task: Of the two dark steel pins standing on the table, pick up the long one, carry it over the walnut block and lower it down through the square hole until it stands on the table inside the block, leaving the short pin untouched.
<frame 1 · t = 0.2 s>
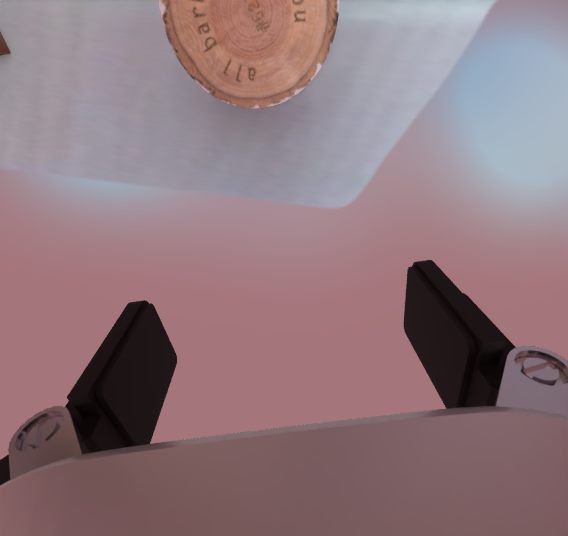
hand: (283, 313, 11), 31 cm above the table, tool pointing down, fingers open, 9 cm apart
brown bark cylinder: (263, 58, 33), on the table
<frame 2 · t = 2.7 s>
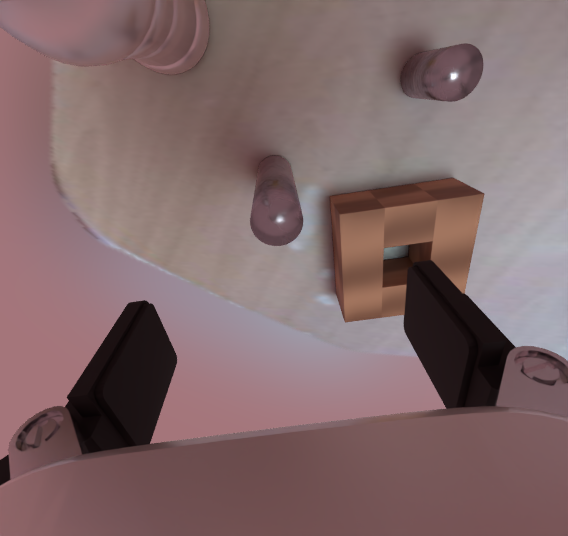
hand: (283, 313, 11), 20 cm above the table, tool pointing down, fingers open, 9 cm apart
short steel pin: (419, 75, 25), on the table
walnut block: (389, 241, 33), on the table
plastic bottle: (171, 24, 23), on the table
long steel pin: (274, 173, 29), on the table
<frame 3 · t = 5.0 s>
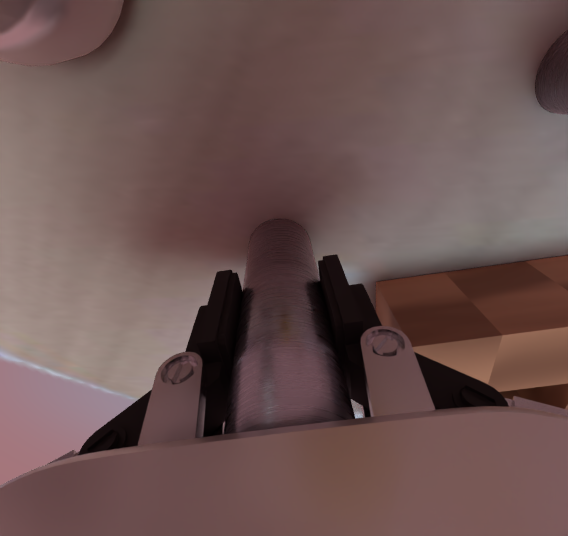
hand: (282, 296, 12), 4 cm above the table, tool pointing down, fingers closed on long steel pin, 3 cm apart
walnut block: (466, 344, 20), on the table
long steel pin: (279, 247, 16), on the table, touching gripper
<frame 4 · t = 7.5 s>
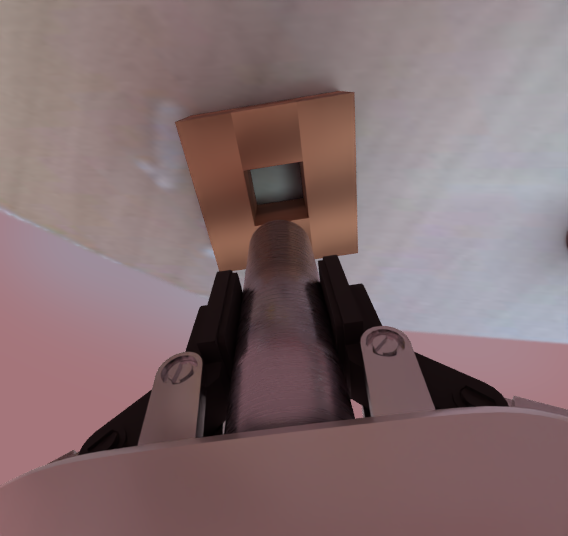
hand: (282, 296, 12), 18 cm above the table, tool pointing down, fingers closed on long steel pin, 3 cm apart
walnut block: (276, 178, 28), on the table
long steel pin: (280, 248, 16), point 14 cm above the table, touching gripper
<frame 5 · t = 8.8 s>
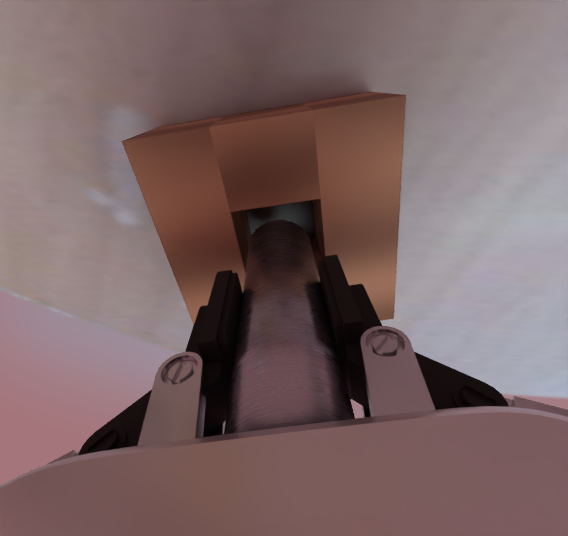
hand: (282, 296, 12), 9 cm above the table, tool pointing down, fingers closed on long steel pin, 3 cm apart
walnut block: (279, 211, 20), on the table
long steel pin: (280, 248, 16), point 5 cm above the table, touching gripper
when the fingers open (7 cm above the table, at t = 10.0 s): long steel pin drops 2 cm, resting in walnut block.
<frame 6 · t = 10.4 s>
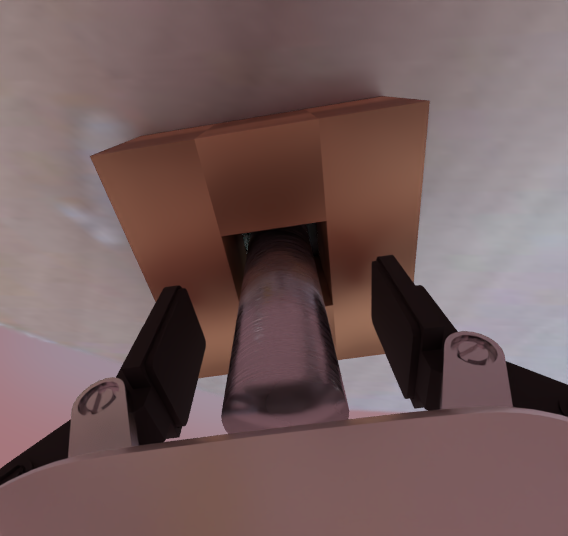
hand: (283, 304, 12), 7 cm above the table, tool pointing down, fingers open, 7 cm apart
walnut block: (278, 228, 18), on the table
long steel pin: (278, 227, 18), resting in walnut block
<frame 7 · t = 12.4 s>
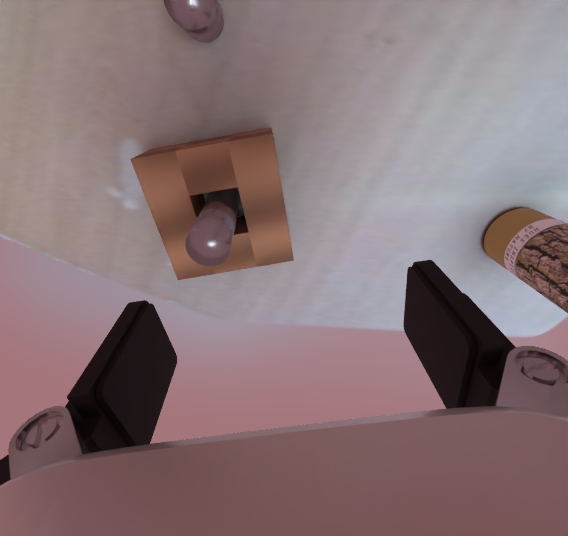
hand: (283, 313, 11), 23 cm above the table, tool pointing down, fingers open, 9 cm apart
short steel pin: (203, 18, 25), on the table
brown bark cylinder: (508, 232, 37), on the table
walnut block: (225, 198, 33), on the table
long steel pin: (225, 198, 33), resting in walnut block
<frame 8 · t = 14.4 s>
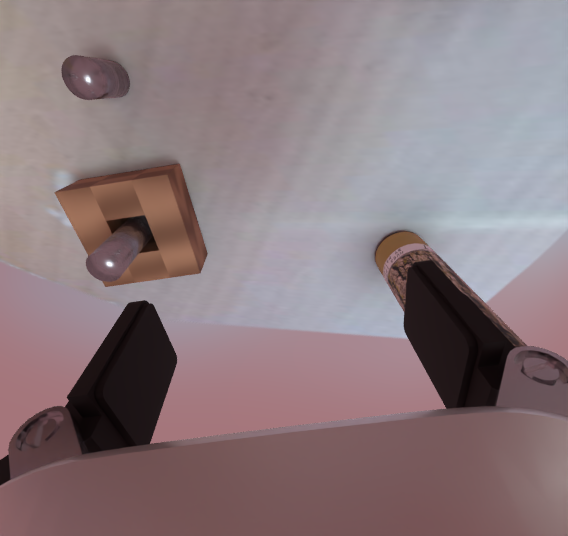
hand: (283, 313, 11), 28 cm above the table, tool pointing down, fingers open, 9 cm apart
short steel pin: (113, 79, 31), on the table
brown bark cylinder: (397, 251, 43), on the table
walnut block: (148, 219, 39), on the table
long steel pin: (148, 219, 39), resting in walnut block
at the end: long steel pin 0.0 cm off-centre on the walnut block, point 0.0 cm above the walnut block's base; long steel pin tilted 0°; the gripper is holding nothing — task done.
